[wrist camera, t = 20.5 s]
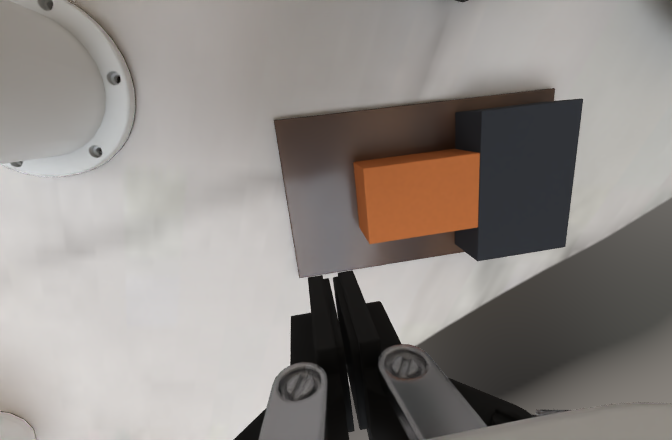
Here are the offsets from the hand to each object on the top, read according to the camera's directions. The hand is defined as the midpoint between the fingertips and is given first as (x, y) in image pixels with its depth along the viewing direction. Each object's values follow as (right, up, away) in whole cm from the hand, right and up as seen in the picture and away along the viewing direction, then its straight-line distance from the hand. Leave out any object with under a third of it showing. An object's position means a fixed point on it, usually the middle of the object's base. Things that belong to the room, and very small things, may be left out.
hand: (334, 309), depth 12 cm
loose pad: (+6, +6, +16) cm, 19 cm away
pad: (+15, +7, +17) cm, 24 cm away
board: (+8, +6, +17) cm, 20 cm away
